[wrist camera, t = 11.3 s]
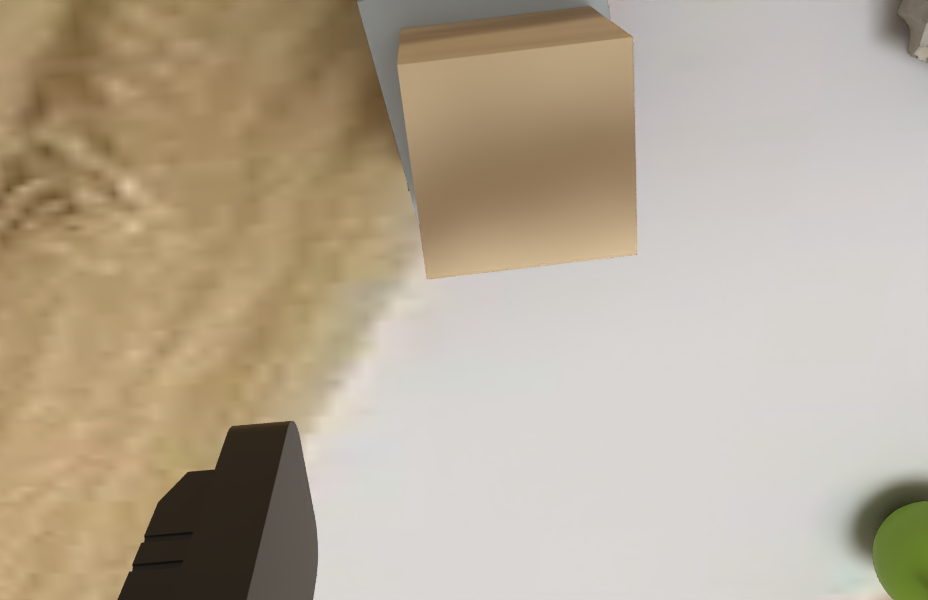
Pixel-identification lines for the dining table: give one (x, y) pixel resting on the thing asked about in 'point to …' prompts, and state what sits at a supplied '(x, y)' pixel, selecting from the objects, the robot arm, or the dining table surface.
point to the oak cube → (521, 140)
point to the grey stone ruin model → (916, 26)
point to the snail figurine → (903, 552)
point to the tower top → (427, 3)
